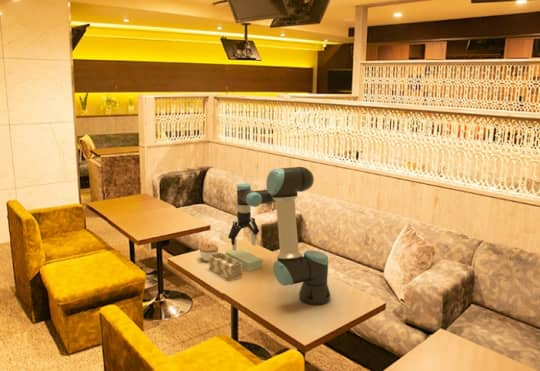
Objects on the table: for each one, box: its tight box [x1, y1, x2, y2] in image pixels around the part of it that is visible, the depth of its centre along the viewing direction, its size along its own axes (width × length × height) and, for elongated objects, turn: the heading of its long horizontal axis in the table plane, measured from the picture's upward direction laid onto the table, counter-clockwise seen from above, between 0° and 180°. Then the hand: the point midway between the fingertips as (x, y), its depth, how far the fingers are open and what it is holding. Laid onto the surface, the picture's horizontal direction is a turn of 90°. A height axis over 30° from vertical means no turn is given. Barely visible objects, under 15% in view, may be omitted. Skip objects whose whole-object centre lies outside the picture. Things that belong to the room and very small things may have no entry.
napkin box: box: [208, 252, 243, 282], centre depth 251 cm, size 20×8×8 cm, turn 40°
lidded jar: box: [199, 243, 219, 263], centre depth 269 cm, size 11×11×9 cm
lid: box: [225, 248, 263, 272], centre depth 265 cm, size 22×10×5 cm, turn 40°
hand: (244, 247), depth 263 cm, fingers open, 13 cm apart
